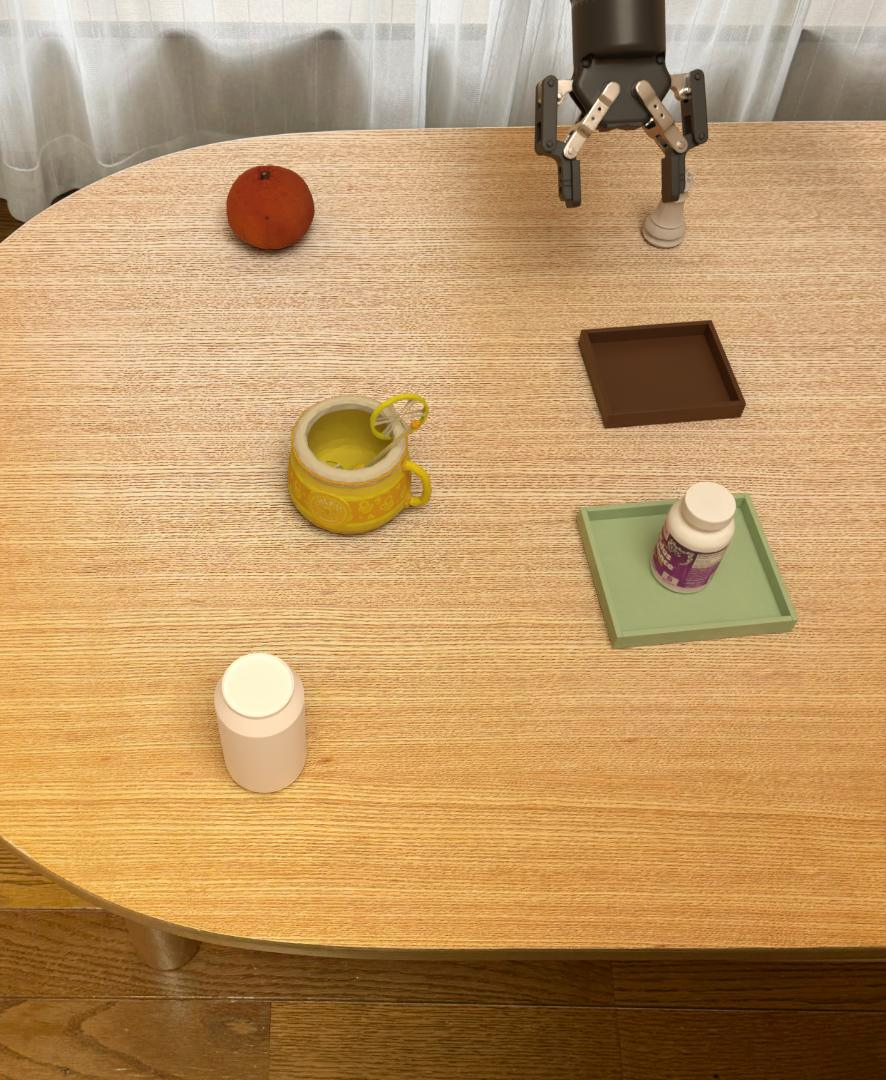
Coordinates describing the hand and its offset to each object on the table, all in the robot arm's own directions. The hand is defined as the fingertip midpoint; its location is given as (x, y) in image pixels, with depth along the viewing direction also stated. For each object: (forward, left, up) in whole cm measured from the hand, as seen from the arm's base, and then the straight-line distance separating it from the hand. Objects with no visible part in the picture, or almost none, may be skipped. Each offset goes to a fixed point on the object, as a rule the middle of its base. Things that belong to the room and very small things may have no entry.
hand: (622, 204), depth 99 cm
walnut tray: (-6, +4, -18) cm, 19 cm away
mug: (+24, +15, -18) cm, 33 cm away
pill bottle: (-2, +26, -18) cm, 31 cm away
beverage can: (+34, +39, -18) cm, 55 cm away
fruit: (+29, -20, -18) cm, 40 cm away
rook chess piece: (-12, -16, -18) cm, 27 cm away
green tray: (-2, +26, -18) cm, 32 cm away
